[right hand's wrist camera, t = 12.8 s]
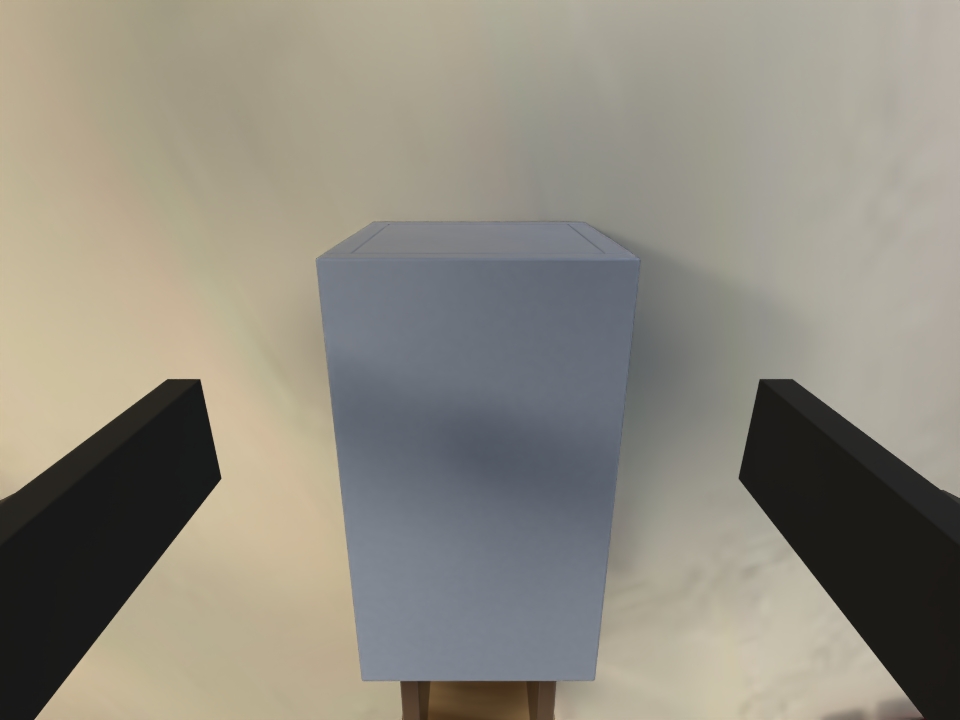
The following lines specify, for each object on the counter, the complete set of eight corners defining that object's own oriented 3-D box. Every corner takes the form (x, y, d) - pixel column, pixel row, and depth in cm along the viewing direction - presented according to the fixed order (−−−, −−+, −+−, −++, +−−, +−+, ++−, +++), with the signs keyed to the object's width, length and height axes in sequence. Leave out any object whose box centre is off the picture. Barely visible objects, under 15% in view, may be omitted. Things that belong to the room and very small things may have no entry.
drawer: (543, 729, 36) (558, 868, 29) (413, 729, 36) (398, 868, 29) (561, 445, 28) (588, 542, 21) (395, 445, 28) (368, 542, 21)
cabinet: (562, 534, 31) (595, 682, 23) (394, 534, 31) (361, 682, 23) (584, 221, 25) (641, 258, 16) (372, 221, 25) (314, 258, 16)
